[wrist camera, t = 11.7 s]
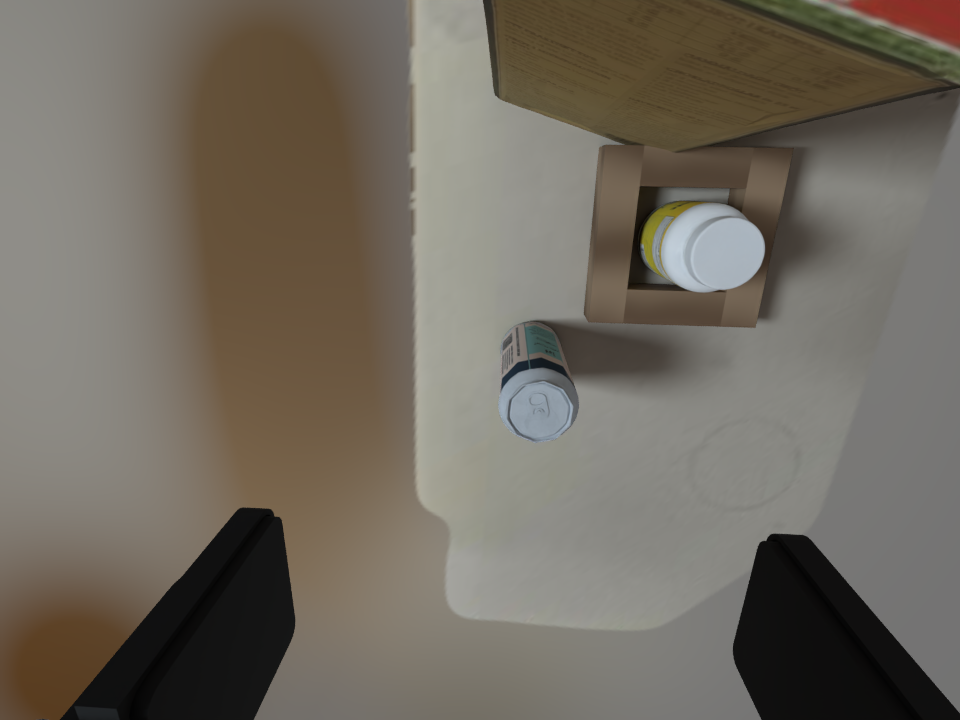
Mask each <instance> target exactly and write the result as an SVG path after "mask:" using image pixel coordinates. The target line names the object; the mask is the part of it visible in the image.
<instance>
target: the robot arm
mask: <svg viewBox="0 0 960 720" xmlns="http://www.w3.org/2000/svg"><path fill="white" fill-rule="evenodd" d="M294 629H295V614H294V607H293V599H292V591H291V584H290V577H289V569H288V562H287V555H286V548H285V540H284V533H283V525H282V520H281V519H280V517H274V513H273V511H272V510H271V509H262V508H240V509H238V510H237V511H236V512H235V514H234V515H233V516H232V517H231V518H230V520H229V521H228V522H227V523H226V524H225V525H224V527H223V528H222V529H221V530H220V532H219V533H218V534H217V535H216V536H215V538H214V539H213V540H212V541H211V542H210V544H209V545H208V546H207V547H206V549H205V550H204V551H203V552H202V553H201V554H200V556H199V557H198V558H197V559H196V560H195V562H194V563H193V564H192V565H191V566H190V568H189V569H188V570H187V571H186V572H185V574H184V575H183V576H182V577H181V578H180V579H179V580H178V581H177V582H176V583H174V584H173V585H172V586H171V588H170V589H169V590H168V591H167V592H166V594H165V595H164V596H163V597H162V598H161V600H160V601H159V602H158V603H157V604H156V606H155V607H154V608H153V609H152V611H151V612H150V613H149V614H148V615H147V616H146V618H145V619H144V620H143V621H142V622H141V624H140V625H139V626H138V627H137V628H136V629H135V631H134V632H133V633H132V634H131V636H130V637H129V638H128V639H127V640H126V641H125V643H124V644H123V645H122V646H121V648H120V649H119V650H118V651H117V652H116V653H115V655H114V656H113V657H112V658H111V659H110V661H109V662H108V663H107V664H106V665H105V667H104V668H103V669H102V670H101V671H100V673H99V674H98V675H97V676H96V677H95V678H94V680H93V681H92V682H91V683H90V685H89V686H88V687H87V688H86V689H85V690H84V692H83V693H82V694H81V695H80V696H79V698H78V699H77V700H76V701H75V702H74V704H73V705H72V706H71V707H70V708H69V710H68V711H67V712H66V713H65V715H63V717H62V718H61V719H60V720H254V718H255V716H256V714H257V712H258V709H259V707H260V705H261V703H262V701H263V699H264V696H265V695H266V693H267V690H268V688H269V686H270V684H271V682H272V680H273V678H274V676H275V674H276V671H277V669H278V667H279V665H280V663H281V661H282V659H283V657H284V655H285V652H286V650H287V648H288V646H289V644H290V642H291V639H292V637H293V633H294ZM733 656H734V661H735V664H736V667H737V669H738V671H739V673H740V675H741V678H742V679H743V682H744V684H745V686H746V688H747V690H748V692H749V694H750V696H751V699H752V701H753V703H754V705H755V707H756V709H757V711H758V713H759V715H760V717H761V719H762V720H960V713H959V712H958V711H957V710H956V708H955V707H954V706H953V705H952V704H951V703H950V701H949V700H948V699H947V698H946V697H945V696H944V694H943V693H942V692H941V691H940V690H939V689H938V688H937V686H936V685H935V684H934V683H933V682H932V680H931V679H930V678H929V677H928V676H927V675H926V674H925V672H924V671H923V670H922V669H921V668H920V666H919V665H918V664H917V663H916V662H915V661H914V660H913V658H912V657H911V656H910V655H909V654H908V653H907V651H906V650H905V649H904V648H903V647H902V646H901V644H900V643H899V642H898V641H897V640H896V639H895V637H894V636H893V635H892V634H891V633H890V632H889V630H888V629H887V628H886V627H885V626H884V625H883V624H882V622H881V621H880V620H879V619H878V618H877V616H876V615H875V614H874V613H873V612H872V611H871V609H870V608H869V607H868V606H867V605H866V604H865V602H864V601H863V600H862V599H861V598H860V597H859V596H858V594H857V593H856V592H855V591H854V590H853V589H852V587H851V586H850V585H849V584H848V583H847V581H846V580H845V579H844V578H843V577H842V576H841V574H840V573H839V572H838V571H837V570H836V569H835V567H834V566H833V565H832V564H831V563H830V562H829V560H828V559H827V558H826V557H825V556H824V555H823V554H822V552H821V551H820V550H819V549H818V548H817V547H816V545H815V544H814V543H813V542H812V541H811V540H810V539H809V538H808V537H807V536H804V535H791V534H771V535H770V536H769V537H768V538H767V541H762V542H760V543H759V546H758V549H757V552H756V556H755V560H754V564H753V568H752V572H751V577H750V580H749V584H748V588H747V592H746V596H745V600H744V604H743V608H742V612H741V616H740V620H739V624H738V628H737V632H736V636H735V639H734V643H733ZM39 720H46V719H39Z"/></svg>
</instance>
